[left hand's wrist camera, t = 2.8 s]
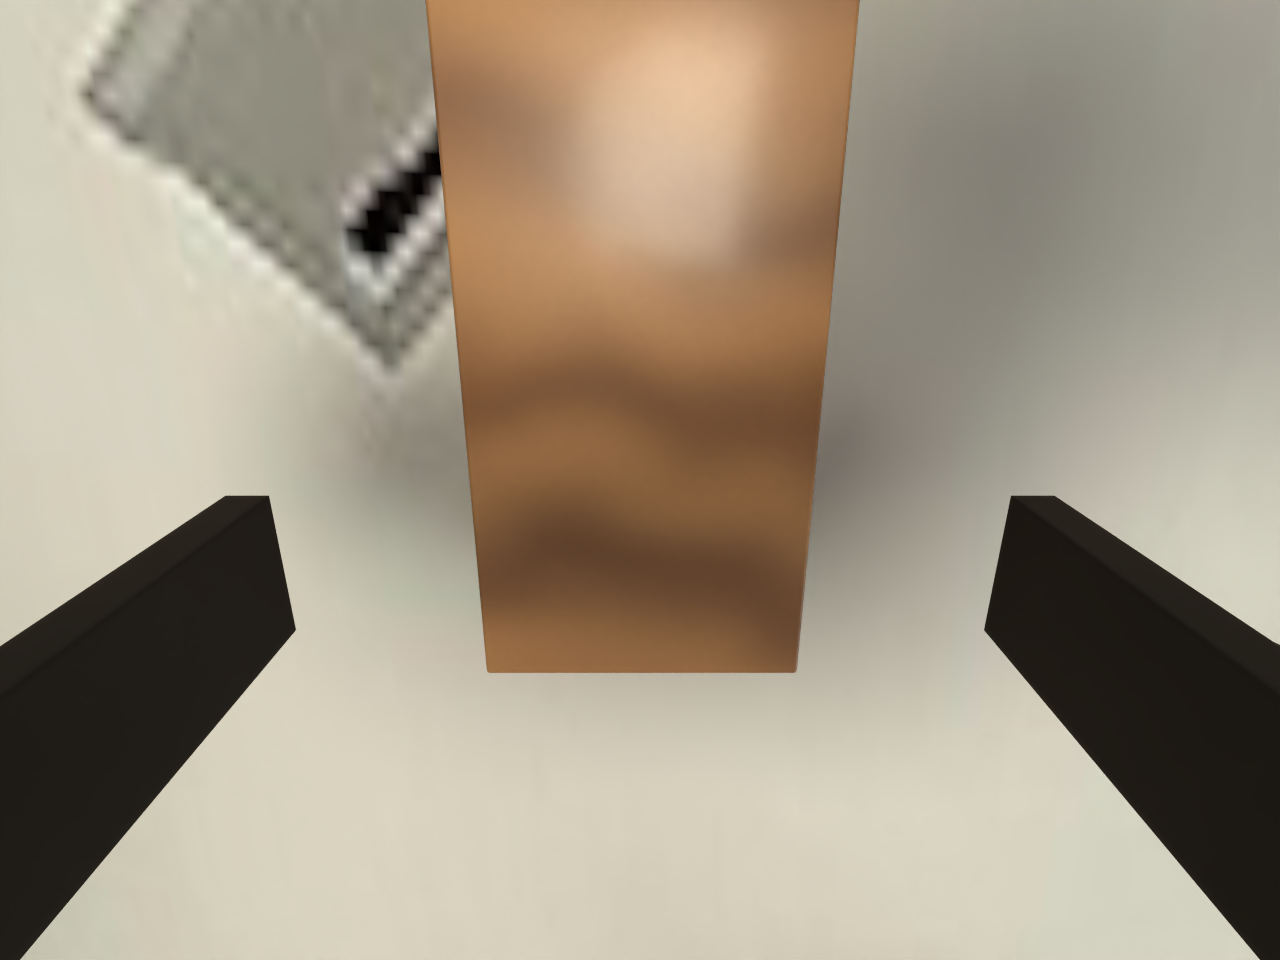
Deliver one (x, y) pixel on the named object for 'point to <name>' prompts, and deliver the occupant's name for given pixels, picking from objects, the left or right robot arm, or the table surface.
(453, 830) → the table surface
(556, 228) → the thick board
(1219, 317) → the table surface
